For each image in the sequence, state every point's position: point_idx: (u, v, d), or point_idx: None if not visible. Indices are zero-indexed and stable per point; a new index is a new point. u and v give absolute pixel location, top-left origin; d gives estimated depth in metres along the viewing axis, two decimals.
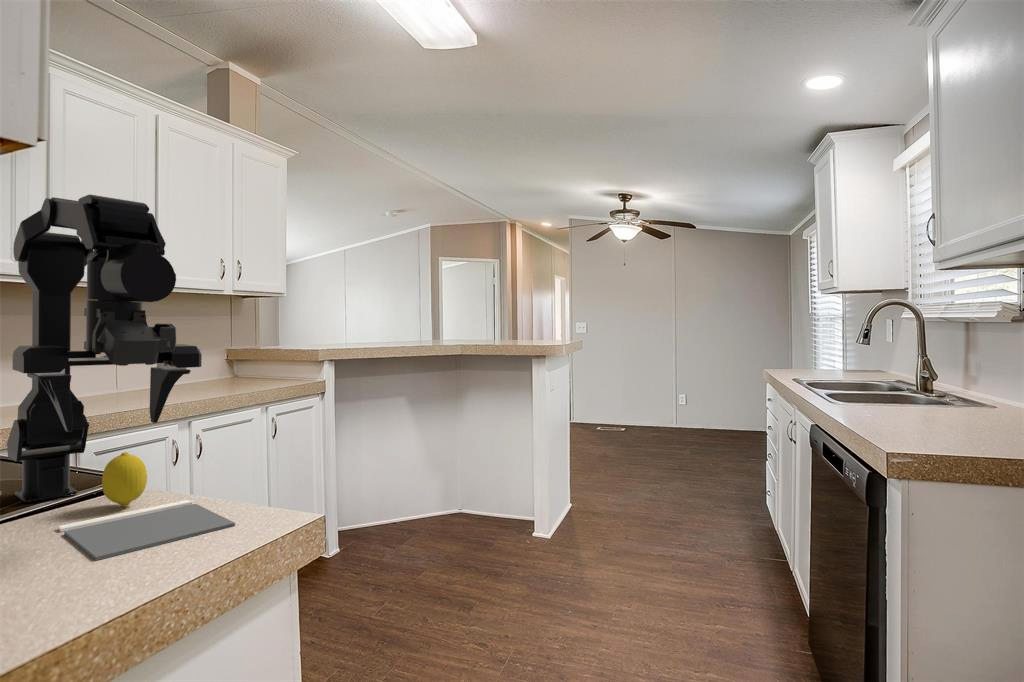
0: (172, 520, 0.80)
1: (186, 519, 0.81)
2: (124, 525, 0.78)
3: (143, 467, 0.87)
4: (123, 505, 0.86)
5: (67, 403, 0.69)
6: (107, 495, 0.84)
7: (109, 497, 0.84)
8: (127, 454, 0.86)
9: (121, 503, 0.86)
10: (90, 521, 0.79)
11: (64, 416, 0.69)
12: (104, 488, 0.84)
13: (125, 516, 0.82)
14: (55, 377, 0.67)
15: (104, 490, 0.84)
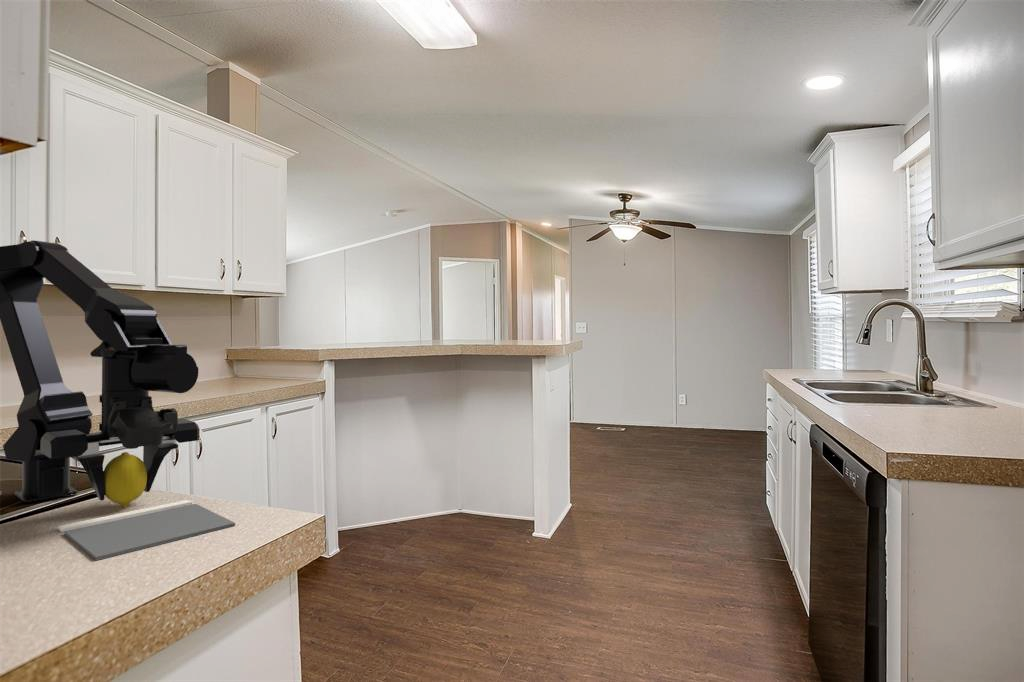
0: (172, 520, 0.80)
1: (186, 519, 0.81)
2: (124, 525, 0.78)
3: (143, 467, 0.87)
4: (123, 505, 0.86)
5: (100, 477, 0.83)
6: (107, 495, 0.84)
7: (109, 497, 0.84)
8: (127, 454, 0.86)
9: (121, 503, 0.86)
10: (90, 521, 0.79)
11: (98, 488, 0.83)
12: None
13: (125, 516, 0.82)
14: (92, 458, 0.81)
15: None
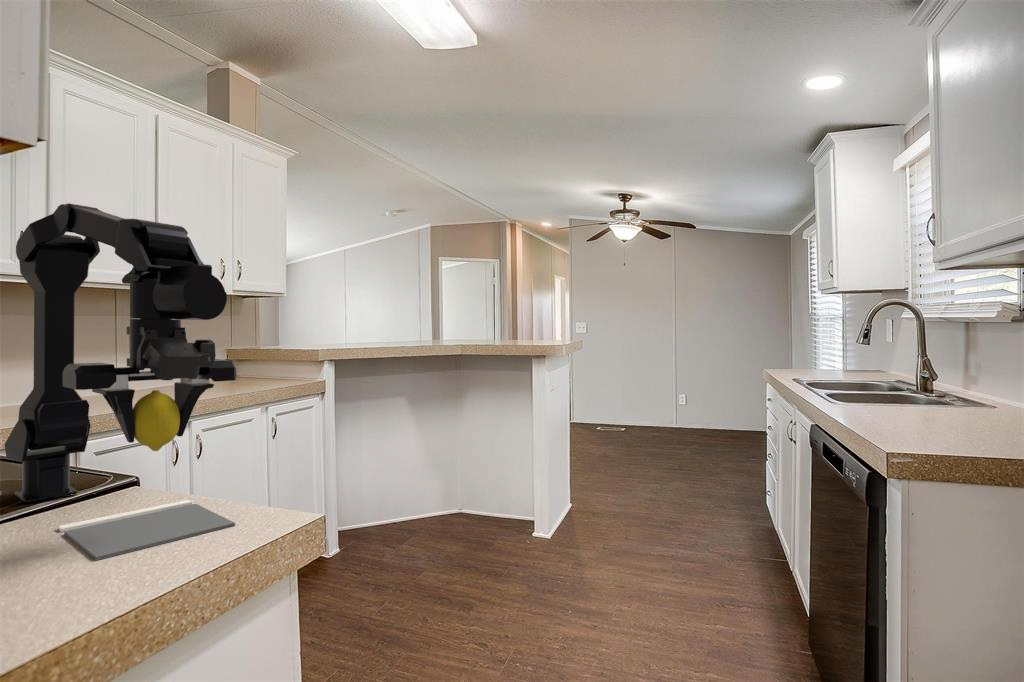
0: (172, 520, 0.80)
1: (186, 519, 0.81)
2: (124, 525, 0.78)
3: (176, 407, 0.78)
4: (154, 449, 0.77)
5: (130, 416, 0.74)
6: (137, 437, 0.75)
7: (139, 439, 0.75)
8: (158, 392, 0.77)
9: (152, 446, 0.76)
10: (90, 521, 0.79)
11: (127, 428, 0.74)
12: None
13: (125, 516, 0.82)
14: (121, 391, 0.72)
15: None
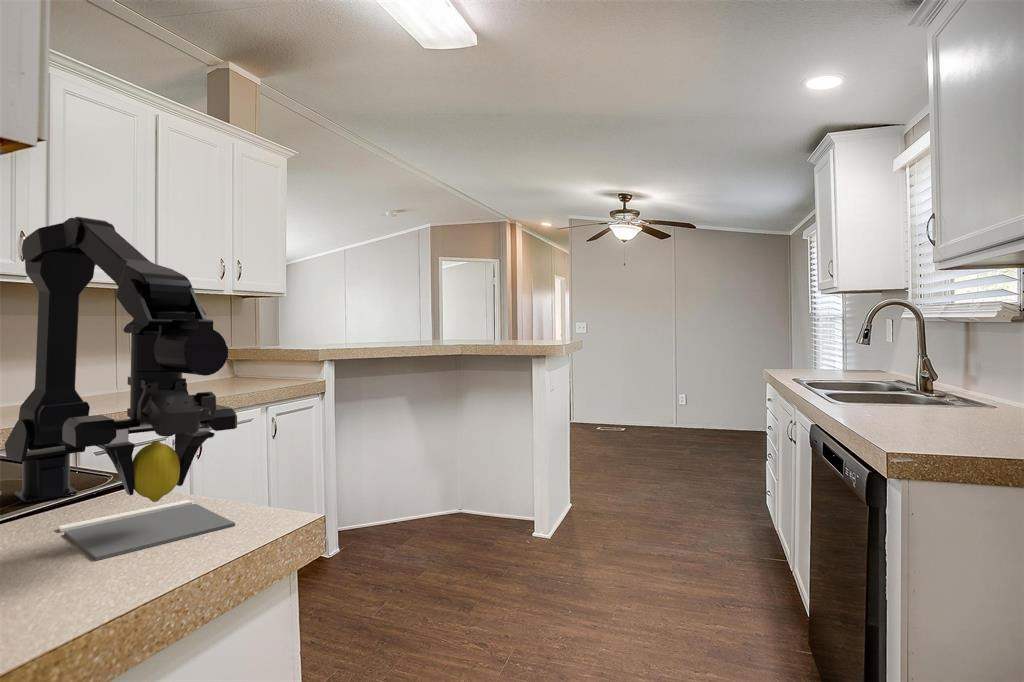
0: (172, 520, 0.80)
1: (186, 519, 0.81)
2: (124, 525, 0.78)
3: (176, 458, 0.77)
4: (154, 500, 0.77)
5: (130, 469, 0.74)
6: (137, 489, 0.75)
7: (139, 491, 0.75)
8: (158, 443, 0.77)
9: (152, 498, 0.76)
10: (90, 521, 0.79)
11: (127, 481, 0.74)
12: None
13: (125, 516, 0.82)
14: (121, 447, 0.71)
15: None
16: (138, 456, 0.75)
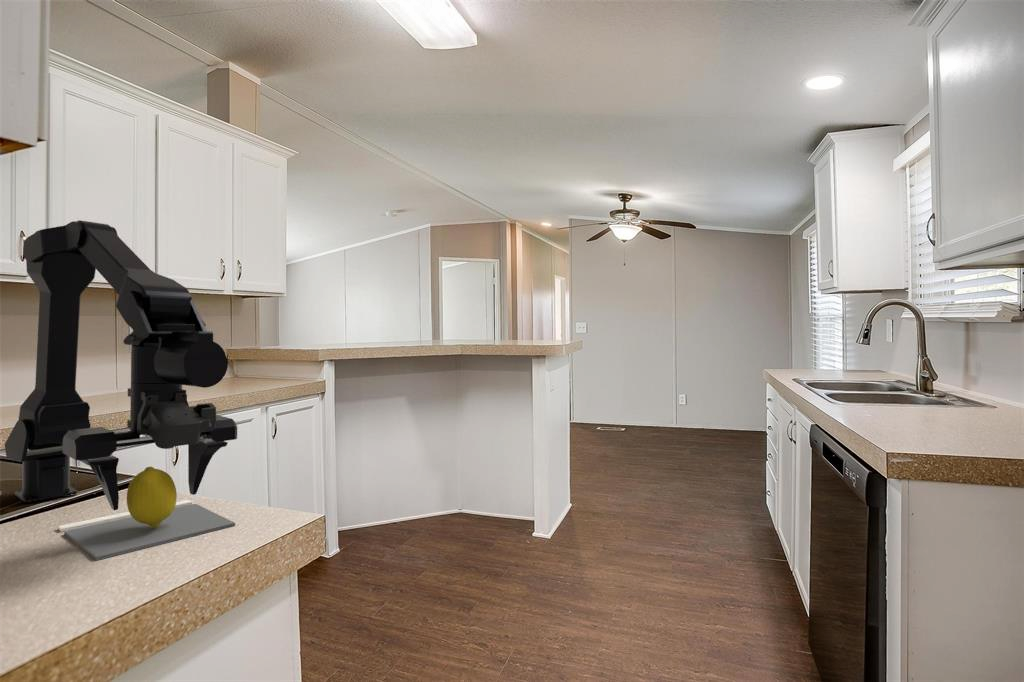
0: (172, 520, 0.80)
1: (186, 519, 0.81)
2: (124, 525, 0.78)
3: (171, 481, 0.77)
4: (153, 526, 0.77)
5: (114, 483, 0.72)
6: (134, 516, 0.75)
7: (137, 518, 0.75)
8: (151, 468, 0.77)
9: (151, 524, 0.76)
10: (90, 521, 0.79)
11: (111, 496, 0.72)
12: (130, 509, 0.75)
13: (125, 516, 0.82)
14: (104, 461, 0.70)
15: (130, 511, 0.75)
16: (132, 484, 0.75)
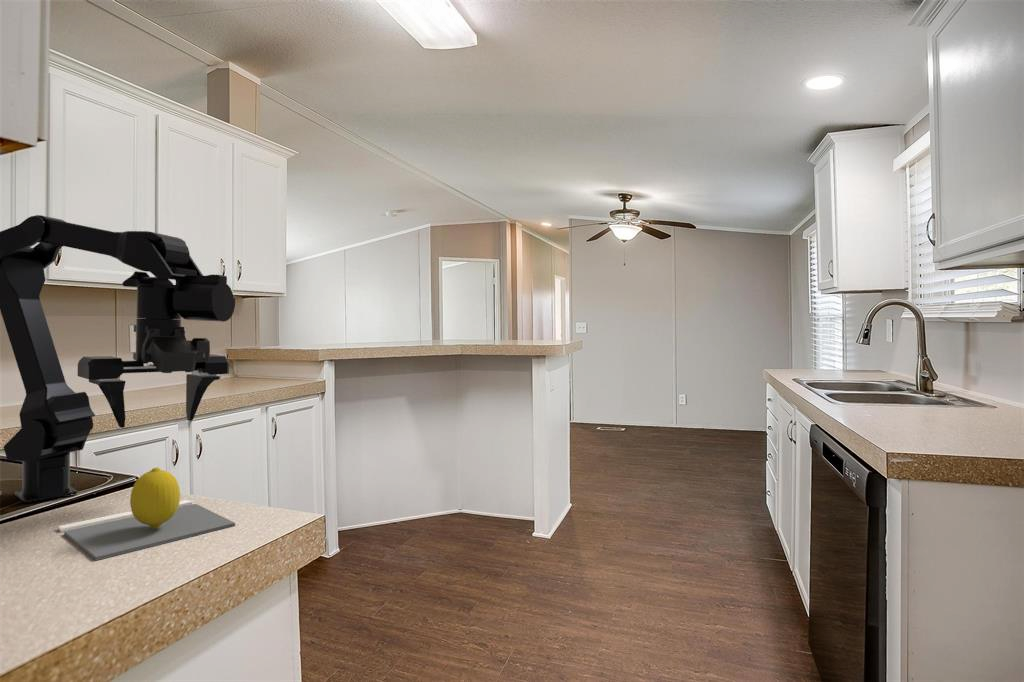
0: (172, 520, 0.80)
1: (186, 519, 0.81)
2: (124, 525, 0.78)
3: (176, 484, 0.77)
4: (154, 527, 0.77)
5: (121, 404, 0.84)
6: (137, 516, 0.75)
7: (139, 519, 0.75)
8: (158, 470, 0.77)
9: (152, 525, 0.76)
10: (90, 521, 0.79)
11: (119, 414, 0.84)
12: (133, 508, 0.75)
13: (125, 516, 0.82)
14: (113, 382, 0.81)
15: (133, 511, 0.75)
16: (138, 483, 0.75)
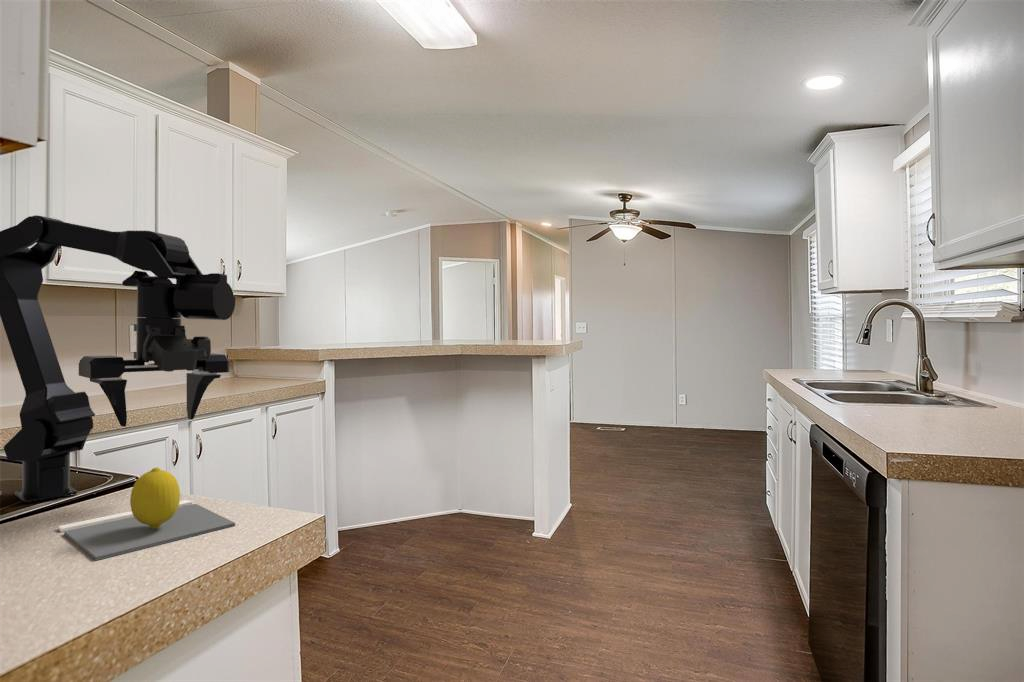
0: (172, 520, 0.80)
1: (186, 519, 0.81)
2: (124, 525, 0.78)
3: (176, 484, 0.77)
4: (154, 527, 0.77)
5: (123, 403, 0.84)
6: (137, 516, 0.75)
7: (139, 519, 0.75)
8: (158, 470, 0.77)
9: (152, 525, 0.76)
10: (90, 521, 0.79)
11: (120, 413, 0.84)
12: (133, 508, 0.75)
13: (125, 516, 0.82)
14: (114, 381, 0.82)
15: (133, 511, 0.75)
16: (138, 483, 0.75)
